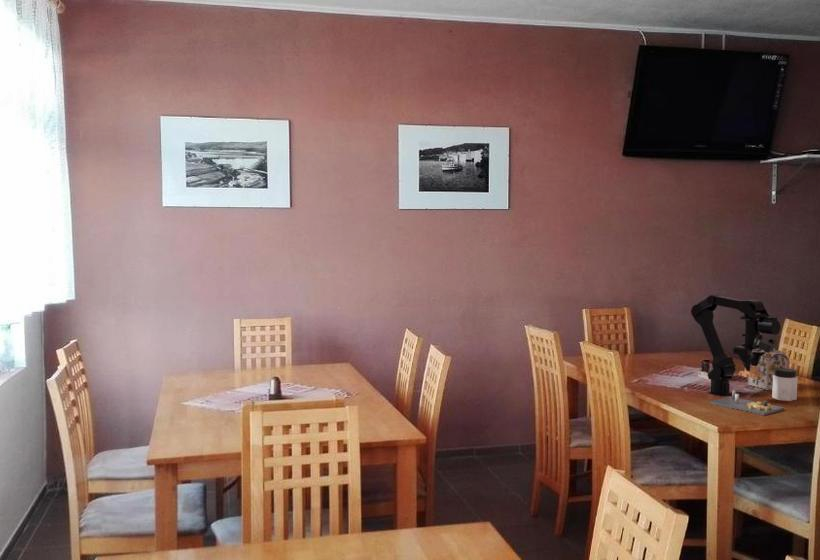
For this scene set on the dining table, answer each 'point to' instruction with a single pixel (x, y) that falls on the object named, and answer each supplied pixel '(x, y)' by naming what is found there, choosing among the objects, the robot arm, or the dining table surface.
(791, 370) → the jar
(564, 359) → the dining table surface
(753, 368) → the loose gear
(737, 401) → the gear board
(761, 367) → the decorative jar
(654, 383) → the dining table surface
